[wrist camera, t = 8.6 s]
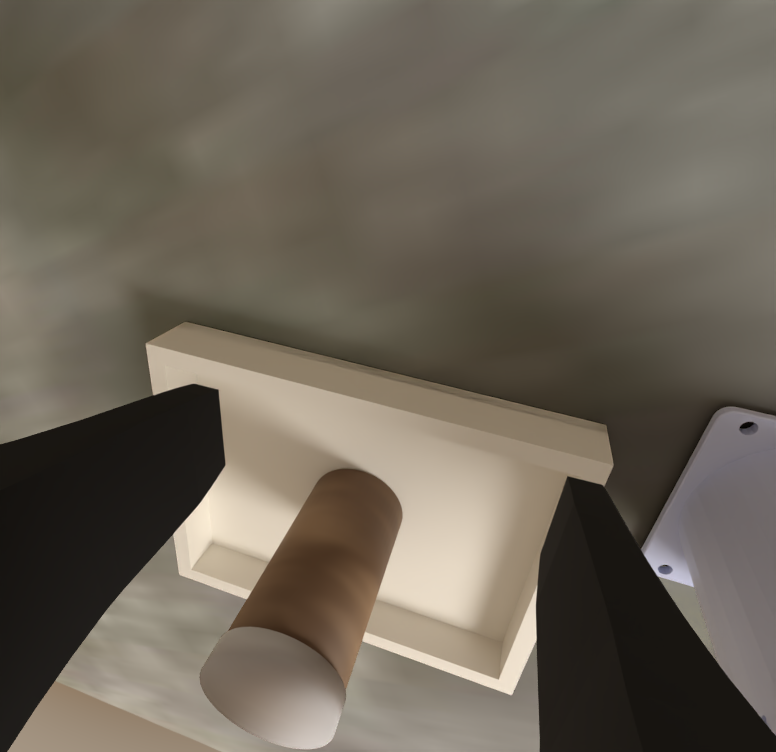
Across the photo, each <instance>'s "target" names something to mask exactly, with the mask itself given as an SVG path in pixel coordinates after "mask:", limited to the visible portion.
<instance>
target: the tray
mask: <svg viewBox="0 0 776 752" xmlns="http://www.w3.org/2000/svg"><path fill="white" fill-rule="evenodd" d="M146 350H147V357H148V364H149V370H150V377H151V384H152V391H153V395H156V394H159V393H162V392H165V391H168V390H172V389H175V388H178V387H182V386H186V385H190V384H198V385H202V386H206V387H210V388H214V389H218V390H219V400H220V411H221V421H222V432H223V443H224V453H225V464H226V465H225V467H224V468H223V470H222V471H221V473H220V475H219V476H218V478H217V479H216V481H215V482H214V484H213V485H212V487H211V488H210V490H209V491H208V493H207V494H206V495H205V497H204V498H203V500H202V501H201V502H200V504H199V505H198V506H197V507H196V509H195V510H194V511H193V512H192V513H191V514H190V515H189V517H188V518H187V519H186V520H185V521H184V522H183V523H182V525H181V526H180V527H179V528H178V529H177V530H176V531H175V533H174V541H175V548H176V555H177V562H178V568H179V575H181V576H184V577H187V578H190V579H192V580H195V581H198V582H201V583H204V584H206V585H209V586H212V587H215V588H217V589H220V590H223V591H226V592H228V593H231V594H234V595H237V596H239V597H242V598H245V599H247V598H248V597H249V595H250V593H251V592H252V590H253V588H254V587H255V585H256V583H257V582H258V580H259V578H260V577H261V575H262V573H263V572H264V570H265V568H266V567H267V565H268V563H269V562H270V560H271V558H272V557H273V555H274V553H275V552H276V550H277V548H278V547H279V545H280V543H281V542H282V540H283V538H284V537H285V535H286V533H287V532H288V530H289V528H290V527H291V525H292V523H293V522H294V520H295V518H296V517H297V515H298V513H299V512H300V510H301V508H302V507H303V505H304V503H305V502H306V500H307V498H308V497H309V495H310V493H311V492H312V490H313V488H314V487H315V485H316V483H317V482H318V480H319V479H320V478H321V477H322V476H323V475H325V474H326V473H328V472H331V471H334V470H338V469H354V470H359V471H363V472H366V473H368V474H371V475H373V476H375V477H377V478H378V479H380V480H381V481H383V482H384V483H385V484H386V485H387V486H389V487H390V488H391V490H392V491H393V492H394V493H395V495H396V496H397V498H398V500H399V502H400V504H401V507H402V512H403V518H402V523H401V526H400V529H399V532H398V535H397V538H396V541H395V544H394V547H393V550H392V553H391V556H390V559H389V562H388V565H387V568H386V571H385V574H384V577H383V580H382V583H381V586H380V589H379V592H378V595H377V598H376V601H375V604H374V607H373V610H372V613H371V615H370V618H369V621H368V624H367V627H366V630H365V633H364V636H363V639H362V641H363V642H366V643H369V644H372V645H374V646H377V647H380V648H383V649H385V650H388V651H391V652H394V653H397V654H399V655H402V656H405V657H408V658H410V659H413V660H416V661H419V662H421V663H424V664H427V665H430V666H432V667H435V668H438V669H441V670H443V671H446V672H449V673H452V674H454V675H457V676H460V677H463V678H465V679H468V680H471V681H474V682H476V683H479V684H482V685H485V686H487V687H490V688H493V689H496V690H499V691H501V692H504V693H507V694H510V695H512V694H513V691H514V689H515V687H516V685H517V682H518V680H519V678H520V676H521V673H522V671H523V669H524V667H525V664H526V662H527V660H528V658H529V655H530V653H531V651H532V649H533V646H534V644H535V642H536V640H537V636H536V596H537V583H538V572H539V561H540V553H541V550H542V547H543V545H544V542H545V539H546V536H547V533H548V530H549V527H550V525H551V522H552V519H553V516H554V513H555V510H556V507H557V505H558V502H559V499H560V496H561V493H562V490H563V487H564V485H565V482H566V479H567V476H569V477H573V478H577V479H581V480H585V481H589V482H593V483H597V484H601V485H603V486H605V484H606V482H607V479H608V477H609V475H610V473H611V470H612V468H613V466H614V464H613V459H612V453H611V448H610V443H609V437H608V432H607V427H606V425H604V424H600V423H596V422H592V421H588V420H584V419H580V418H576V417H572V416H568V415H564V414H560V413H556V412H551V411H547V410H543V409H539V408H535V407H531V406H527V405H523V404H519V403H515V402H511V401H507V400H503V399H499V398H494V397H490V396H486V395H482V394H478V393H474V392H470V391H466V390H462V389H458V388H454V387H450V386H446V385H442V384H437V383H433V382H429V381H425V380H421V379H417V378H413V377H409V376H405V375H401V374H397V373H393V372H389V371H385V370H381V369H376V368H372V367H368V366H364V365H360V364H356V363H352V362H348V361H344V360H340V359H336V358H332V357H328V356H324V355H319V354H315V353H311V352H307V351H303V350H299V349H295V348H291V347H287V346H283V345H279V344H275V343H271V342H267V341H262V340H258V339H254V338H250V337H246V336H242V335H238V334H234V333H230V332H226V331H222V330H218V329H214V328H210V327H206V326H201V325H197V324H193V323H189V322H184V323H182V324H180V325H178V326H176V327H174V328H173V329H171V330H169V331H167V332H165V333H164V334H162V335H160V336H158V337H156V338H154V339H153V340H151V341H149V342H147V343H146Z"/></svg>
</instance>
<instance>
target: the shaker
mask: <svg viewBox="0 0 776 752" xmlns="http://www.w3.org/2000/svg"><path fill="white" fill-rule="evenodd" d="M402 518H403V512H402V507H401V504H400V502H399V500H398V498H397V496H396V495H395V493H394V492H393V491H392V490H391V488H390V487H389V486H387V485H386V484H385V483H384V482H383V481H381V480H380V479H378V478H377V477H375V476H373V475H371V474H368V473H366V472H363V471H359V470H354V469H338V470H334V471H331V472H328V473H326V474H325V475H323V476H322V477H321V478H320V479H319V480H318V482H317V483H316V485H315V487H314V488H313V490H312V492H311V493H310V495H309V497H308V498H307V500H306V502H305V503H304V505H303V507H302V508H301V510H300V512H299V513H298V515H297V517H296V518H295V520H294V522H293V523H292V525H291V527H290V528H289V530H288V532H287V533H286V535H285V537H284V538H283V540H282V542H281V543H280V545H279V547H278V548H277V550H276V552H275V553H274V555H273V557H272V558H271V560H270V562H269V563H268V565H267V567H266V568H265V570H264V572H263V573H262V575H261V577H260V578H259V580H258V582H257V583H256V585H255V587H254V588H253V590H252V592H251V593H250V595H249V597H248V598H247V600H246V602H245V603H244V605H243V607H242V608H241V610H240V612H239V613H238V615H237V617H236V618H235V620H234V622H233V623H232V625H231V627H230V629H229V630H228V631H227V632H226V633H224V634H223V635H222V636H221V638H220V639H219V641H218V643H217V644H216V646H215V648H214V649H213V651H212V653H211V654H210V656H209V657H208V659H207V661H206V662H205V664H204V666H203V667H202V669H201V672H200V684H201V686H202V689H203V691H204V693H205V695H206V696H207V698H208V699H209V701H210V702H211V703H212V704H213V706H214V707H215V708H216V709H217V710H218V711H219V712H220V713H222V714H223V715H224V716H225V717H226V718H227V719H229V720H230V721H231V722H233V723H234V724H236V725H237V726H239V727H240V728H242V729H243V730H245V731H247V732H249V733H251V734H252V735H254V736H256V737H259V738H261V739H263V740H266V741H268V742H271V743H274V744H277V745H280V746H284V747H289V748H295V749H315V748H319V747H322V746H324V745H326V744H328V743H329V742H330V741H331V740H332V738H333V736H334V734H335V731H336V728H337V725H338V722H339V719H340V716H341V712H342V709H343V706H344V703H345V700H346V687H347V684H348V681H349V678H350V675H351V672H352V669H353V666H354V663H355V660H356V657H357V654H358V651H359V648H360V645H361V642H362V639H363V636H364V633H365V630H366V627H367V624H368V621H369V618H370V615H371V613H372V610H373V607H374V604H375V601H376V598H377V595H378V592H379V589H380V586H381V583H382V580H383V577H384V574H385V571H386V568H387V565H388V562H389V559H390V556H391V553H392V550H393V547H394V544H395V541H396V538H397V535H398V532H399V529H400V526H401V523H402Z"/></svg>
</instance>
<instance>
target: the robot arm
mask: <svg viewBox="0 0 776 752" xmlns="http://www.w3.org/2000/svg"><path fill="white" fill-rule="evenodd" d="M746 422H754V424H753V425H752V426H751V427H749V428H747V429H741V428H740V426H741V425H742V424H743V423H746ZM225 465H226V464H225V453H224V443H223V432H222V421H221V411H220V400H219V390H218V389H214V388H210V387H206V386H202V385H198V384H190V385H186V386H182V387H178V388H175V389H172V390H168V391H165V392H162V393H159V394H156V395H153V396H150V397H147V398H144V399H141V400H138V401H135V402H133V403H130V404H127V405H124V406H121V407H118V408H115V409H112V410H109V411H106V412H103V413H100V414H98V415H95V416H92V417H89V418H86V419H83V420H80V421H76V422H73V423H70V424H67V425H64V426H60V427H57V428H54V429H51V430H48V431H44V432H41V433H38V434H35V435H32V436H28V437H25V438H22V439H18V440H15V441H11V442H8V443H4V444H0V752H7V751H8V750H9V748H10V747H11V745H12V743H13V742H14V740H15V739H16V737H17V736H18V734H19V733H20V731H21V730H22V728H23V727H24V725H25V724H26V722H27V720H28V719H29V718H30V716H31V715H32V713H33V711H34V710H35V708H36V707H37V705H38V704H39V703H40V701H41V700H42V698H43V697H44V695H45V694H46V693H47V691H48V690H49V688H50V687H51V686H52V684H53V683H54V681H55V680H56V678H57V677H58V676H59V674H60V673H61V671H62V670H63V668H64V667H65V666H66V664H67V663H68V661H69V660H70V658H71V657H72V656H73V654H74V653H75V652H76V650H77V649H78V648H79V646H80V645H81V643H82V642H83V641H84V639H85V638H86V637H87V635H88V634H89V633H90V631H91V630H92V629H93V627H94V626H95V625H96V623H97V622H98V621H99V619H100V618H101V617H102V615H103V614H104V612H105V611H106V610H107V609H108V607H109V606H110V605H111V604H112V603H113V601H114V600H115V599H116V598H117V597H118V595H119V594H120V593H121V592H122V591H123V589H124V588H125V587H126V586H127V585H128V584H129V583H130V582H131V580H132V579H133V578H134V577H135V576H136V575H137V574H138V573H139V572H140V570H141V569H142V568H143V567H144V566H145V565H146V564H147V563H148V561H149V560H150V559H151V558H152V557H153V556H154V555H155V554H156V553H157V551H158V550H159V549H160V548H161V547H162V546H163V545H164V544H165V543H166V541H167V540H168V539H169V538H170V537H171V536H172V535H173V534H174V533H175V531H176V530H177V529H178V528H179V527H180V526H181V525H182V523H183V522H184V521H185V520H186V519H187V518H188V517H189V515H190V514H191V513H192V512H193V511H194V510H195V509H196V507H197V506H198V505H199V504H200V502H201V501H202V500H203V498H204V497H205V495H206V494H207V493H208V491H209V490H210V488H211V487H212V485H213V484H214V482H215V481H216V479H217V478H218V476H219V475H220V473H221V471H222V470H223V468H224V467H225ZM661 565H669V566H666V567H661ZM658 576H659V577H662V578H665V579H669V580H672V581H676V582H679V583H682V584H686V585H689V586H692V587H694V588H695V591H696V594H697V598H698V601H699V604H700V607H701V611H702V614H703V617H704V620H705V623H706V627H707V630H708V633H709V636H710V639H711V643H712V646H713V649H714V652H715V655H716V659H717V662H718V663H717V662H716V660H715V659H714V658H713V656H712V655H711V654H710V652H709V651H708V650H707V648H706V647H705V645H704V644H703V643H702V641H701V640H700V638H699V637H698V636H697V634H696V633H695V631H694V630H693V629H692V627H691V626H690V624H689V623H688V622H687V620H686V619H685V617H684V616H683V614H682V613H681V611H680V610H679V608H678V607H677V605H676V604H675V602H674V601H673V600H672V598H671V596H670V595H669V593H668V592H667V590H666V589H665V587H664V586H663V584H662V582H661V581H660V579H659V578H658ZM536 636H537V667H538V697H539V726H540V752H776V416H774V415H769V414H765V413H760V412H756V411H752V410H747V409H743V408H738V407H730V406H729V407H724V408H721V409H720V410H718V411H716V413H715V414H714V415H713V417H712V418H711V420H710V422H709V424H708V426H707V428H706V430H705V431H704V433H703V435H702V437H701V439H700V441H699V443H698V444H697V446H696V448H695V450H694V452H693V454H692V456H691V457H690V459H689V461H688V463H687V465H686V467H685V469H684V470H683V472H682V474H681V476H680V478H679V480H678V482H677V483H676V485H675V487H674V489H673V491H672V493H671V495H670V496H669V498H668V500H667V502H666V504H665V506H664V508H663V509H662V511H661V513H660V515H659V517H658V519H657V521H656V522H655V524H654V526H653V528H652V530H651V532H650V534H649V535H648V537H647V539H646V541H645V543H644V545H643V547H642V548H641V549H640V547H639V546H638V544H637V542H636V541H635V539H634V537H633V536H632V534H631V532H630V531H629V529H628V527H627V526H626V524H625V522H624V520H623V519H622V517H621V515H620V513H619V512H618V510H617V508H616V506H615V505H614V503H613V501H612V499H611V498H610V496H609V494H608V493H607V491H606V489H605V488H604V486H603V485H601V484H597V483H593V482H589V481H585V480H581V479H577V478H573V477H569V476H567V479H566V482H565V485H564V487H563V490H562V493H561V496H560V499H559V502H558V505H557V507H556V510H555V513H554V516H553V519H552V522H551V525H550V527H549V530H548V533H547V536H546V539H545V542H544V545H543V547H542V550H541V553H540V561H539V572H538V583H537V596H536Z"/></svg>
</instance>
